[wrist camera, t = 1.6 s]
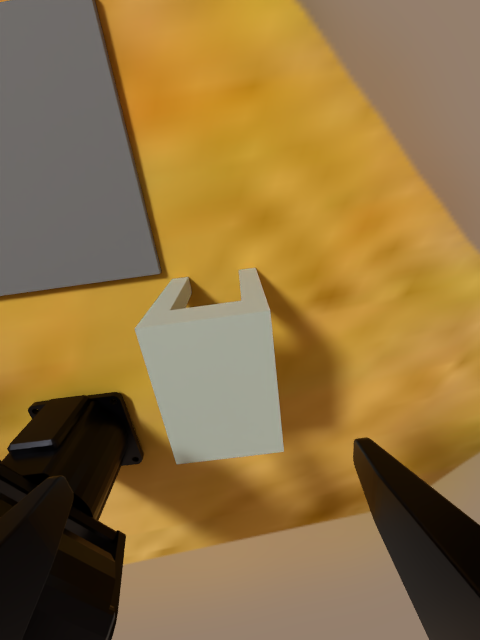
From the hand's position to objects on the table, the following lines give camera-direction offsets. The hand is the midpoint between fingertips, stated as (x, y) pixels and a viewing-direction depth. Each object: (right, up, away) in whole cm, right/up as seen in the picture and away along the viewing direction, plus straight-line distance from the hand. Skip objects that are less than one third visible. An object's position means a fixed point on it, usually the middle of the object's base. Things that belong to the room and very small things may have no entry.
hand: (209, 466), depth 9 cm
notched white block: (0, +4, +9) cm, 10 cm away
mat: (-10, +12, +6) cm, 17 cm away
